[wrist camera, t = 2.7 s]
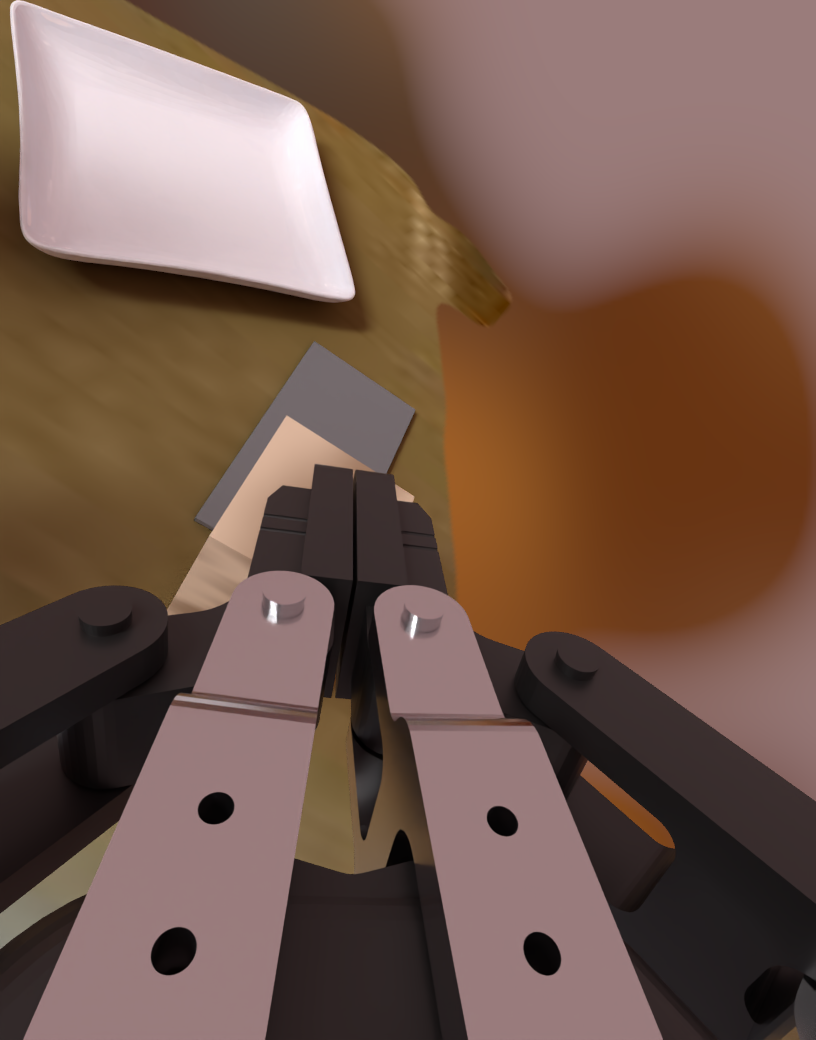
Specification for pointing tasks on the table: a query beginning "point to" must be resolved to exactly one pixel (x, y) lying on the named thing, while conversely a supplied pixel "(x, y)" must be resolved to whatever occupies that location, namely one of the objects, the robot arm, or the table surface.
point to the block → (256, 514)
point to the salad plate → (167, 164)
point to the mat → (321, 422)
